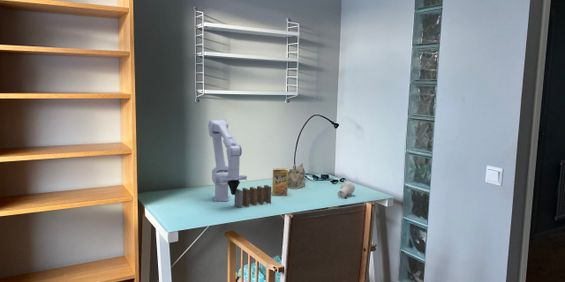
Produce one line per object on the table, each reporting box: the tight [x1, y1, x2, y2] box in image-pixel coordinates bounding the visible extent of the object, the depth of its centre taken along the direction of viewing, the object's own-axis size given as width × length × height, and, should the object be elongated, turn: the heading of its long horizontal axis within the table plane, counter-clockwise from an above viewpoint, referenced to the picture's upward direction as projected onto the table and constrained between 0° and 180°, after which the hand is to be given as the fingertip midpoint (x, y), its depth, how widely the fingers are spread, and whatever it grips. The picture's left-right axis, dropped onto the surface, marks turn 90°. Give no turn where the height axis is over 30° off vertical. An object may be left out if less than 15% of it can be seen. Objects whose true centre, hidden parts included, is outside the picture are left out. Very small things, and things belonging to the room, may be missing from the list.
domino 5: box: [263, 184, 272, 204], centre depth 230 cm, size 2×5×9 cm, turn 34°
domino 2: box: [241, 187, 250, 208], centre depth 223 cm, size 2×5×9 cm, turn 34°
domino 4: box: [256, 185, 265, 205], centre depth 228 cm, size 2×5×9 cm, turn 34°
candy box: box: [271, 167, 289, 196], centre depth 246 cm, size 9×4×15 cm, turn 92°
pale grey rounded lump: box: [337, 181, 356, 199], centre depth 249 cm, size 8×11×8 cm
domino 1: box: [233, 188, 243, 209], centre depth 220 cm, size 2×5×9 cm, turn 36°
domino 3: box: [249, 186, 258, 207], centre depth 225 cm, size 2×5×9 cm, turn 34°
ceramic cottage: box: [287, 162, 306, 190], centre depth 269 cm, size 16×16×15 cm
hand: (233, 194), depth 218 cm, fingers closed
